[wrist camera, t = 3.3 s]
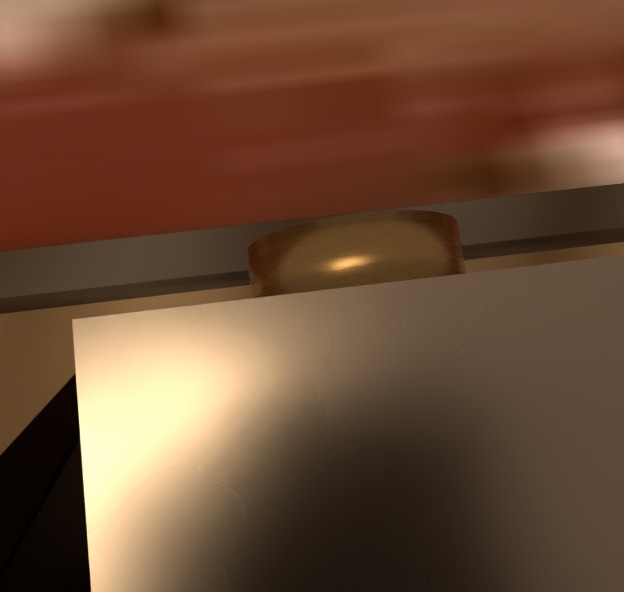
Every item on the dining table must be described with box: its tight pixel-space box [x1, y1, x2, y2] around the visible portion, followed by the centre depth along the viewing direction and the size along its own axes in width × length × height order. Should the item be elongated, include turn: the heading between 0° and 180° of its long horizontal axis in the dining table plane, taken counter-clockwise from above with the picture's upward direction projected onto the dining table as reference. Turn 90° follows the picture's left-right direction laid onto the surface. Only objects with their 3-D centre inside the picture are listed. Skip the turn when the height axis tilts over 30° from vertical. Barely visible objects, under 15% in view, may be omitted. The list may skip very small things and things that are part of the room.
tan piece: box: [0, 183, 624, 455], centre depth 14 cm, size 24×9×4 cm, turn 97°
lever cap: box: [72, 210, 624, 592], centre depth 9 cm, size 4×5×10 cm
